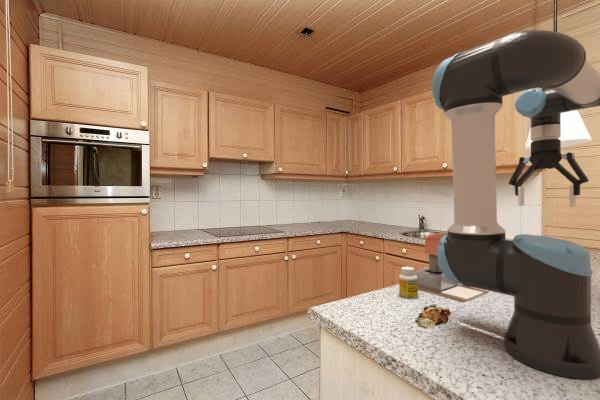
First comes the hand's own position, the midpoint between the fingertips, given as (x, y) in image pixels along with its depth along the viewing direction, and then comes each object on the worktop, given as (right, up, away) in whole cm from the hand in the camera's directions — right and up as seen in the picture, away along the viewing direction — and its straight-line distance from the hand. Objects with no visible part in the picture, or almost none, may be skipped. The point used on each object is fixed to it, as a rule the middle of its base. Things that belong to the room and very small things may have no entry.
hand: (545, 206), depth 98 cm
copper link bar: (-33, -27, +5) cm, 43 cm away
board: (-31, -28, +1) cm, 42 cm away
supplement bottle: (-46, -29, -4) cm, 54 cm away
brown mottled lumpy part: (-45, -30, -20) cm, 57 cm away
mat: (-29, -27, -4) cm, 40 cm away
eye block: (-33, -27, +5) cm, 43 cm away
